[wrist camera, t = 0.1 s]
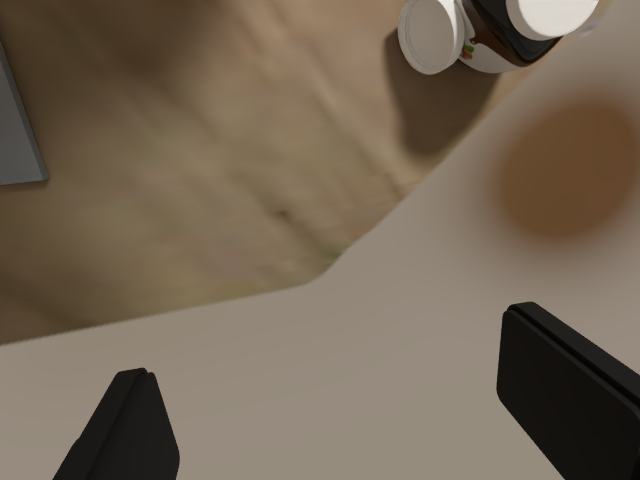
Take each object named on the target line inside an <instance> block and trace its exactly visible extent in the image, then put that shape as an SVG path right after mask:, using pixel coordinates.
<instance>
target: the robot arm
mask: <svg viewBox="0 0 640 480" xmlns="http://www.w3.org/2000/svg"><path fill="white" fill-rule="evenodd" d="M497 394H498V397H499V399H500V401H501V402H502V403H503V405H504V406H505V407H506V409H507V410H508V411H509V412H510V413H511V415H512V416H513V417H514V418H515V420H516V421H517V422H518V423H519V424H520V426H521V427H522V428H523V429H524V431H525V432H526V433H527V434H528V435H529V436H530V438H531V439H532V440H533V441H534V443H535V444H536V445H537V446H538V447H539V449H540V450H541V451H542V452H543V454H544V455H545V456H546V457H547V458H548V460H549V461H550V462H551V463H552V465H553V466H554V467H555V468H556V469H557V471H558V472H559V473H560V474H561V475H562V477H563V478H564V479H565V480H640V375H639V374H637V373H636V372H634V371H633V370H631V369H630V368H629V367H627V366H626V365H624V364H623V363H621V362H620V361H618V360H617V359H615V358H614V357H612V356H611V355H610V354H608V353H607V352H605V351H604V350H603V349H601V348H600V347H598V346H597V345H595V344H594V343H593V342H591V341H590V340H588V339H587V338H585V337H584V336H582V335H581V334H579V333H578V332H577V331H575V330H574V329H572V328H571V327H569V326H568V325H566V324H565V323H563V322H562V321H561V320H559V319H558V318H556V317H555V316H554V315H552V314H551V313H549V312H548V311H546V310H545V309H543V308H542V307H540V306H539V305H538V304H536V303H534V302H525V303H518V304H513V305H510V306H509V307H508V309H507V311H505V312H504V313H503V318H502V329H501V341H500V352H499V363H498V375H497ZM179 461H180V456H179V450H178V446H177V443H176V440H175V437H174V434H173V431H172V428H171V424H170V421H169V418H168V415H167V412H166V409H165V405H164V402H163V399H162V396H161V393H160V390H159V387H158V383H157V380H156V377H155V375H154V373H152V372H150V373H148V372H147V370H146V369H145V368H138V369H132V370H126V371H121V372H118V373H117V374H116V375H115V377H114V379H113V381H112V382H111V384H110V386H109V387H108V389H107V391H106V393H105V394H104V396H103V398H102V400H101V401H100V403H99V405H98V406H97V408H96V410H95V412H94V413H93V415H92V417H91V419H90V420H89V422H88V424H87V425H86V427H85V429H84V430H83V432H82V434H81V436H80V437H79V439H77V440H76V442H75V443H74V444H73V446H72V447H71V449H70V451H69V452H68V454H67V456H66V458H65V459H64V461H63V462H62V464H61V466H60V468H59V470H58V471H57V473H56V474H55V476H54V478H53V479H52V480H176V476H177V472H178V468H179Z"/></svg>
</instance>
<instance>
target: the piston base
mask: <svg viewBox="0 0 640 480" xmlns="http://www.w3.org/2000/svg"><path fill="white" fill-rule="evenodd" d="M46 179H49V176H48V174H47V171H46V168H45V165H44V162H43V159H42V157H41V154H40V151H39V148H38V145H37V142H36V140H35V137H34V134H33V131H32V128H31V126H30V123H29V120H28V117H27V114H26V111H25V109H24V106H23V103H22V100H21V97H20V94H19V92H18V89H17V86H16V83H15V80H14V77H13V75H12V72H11V69H10V66H9V63H8V61H7V58H6V55H5V52H4V49H3V46H2V44H1V41H0V185H6V184H15V183H24V182H33V181H42V180H46Z"/></svg>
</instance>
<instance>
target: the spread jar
mask: <svg viewBox="0 0 640 480" xmlns="http://www.w3.org/2000/svg"><path fill="white" fill-rule="evenodd" d="M598 1H599V0H408V1H407V2H406V3H405V4H404V6H403V8H402V10H401V13H400V16H399V21H398V38H399V43H400V47H401V49H402V52H403V54H404V56H405V58H406V60H407V61H408V62H409V64H410V65H411V66H412V67H413V68H414V69H416V70H417V71H418V72H421V73H423V74H427V75H432V74H436V73H439V72H441V71H442V70H444V69H446V68H447V67H449V66H450V65H452V64H453V63H454V62H455V61H456V60H459V61H460V62H462V63H463V64H465V65H467V66H469V67H471V68H473V69H475V70H478V71H481V72H486V73H502V72H508V71H514V70H518V69H522V68H525V67H527V66H530V65H532V64H533V63H535V62H537V61H538V60H540V59H541V58H542V57H544V56H545V55H546V54H547V53H548V52H549V51H550V50H552V49H553V48H554V46H555V45H556V44H557V43H558V42H559V41H560V40H561V39H562V38H563V36H564V35H566V34H568V33H570V32H572V31H574V30H575V29H577V28H578V27H579V26H581V25H582V24H583V23H584V22H585V21H586V20H587V19H588V17H589V16H590V14H591V13H592V12H593V10H594V9H595V7H596V5H597V3H598Z"/></svg>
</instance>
